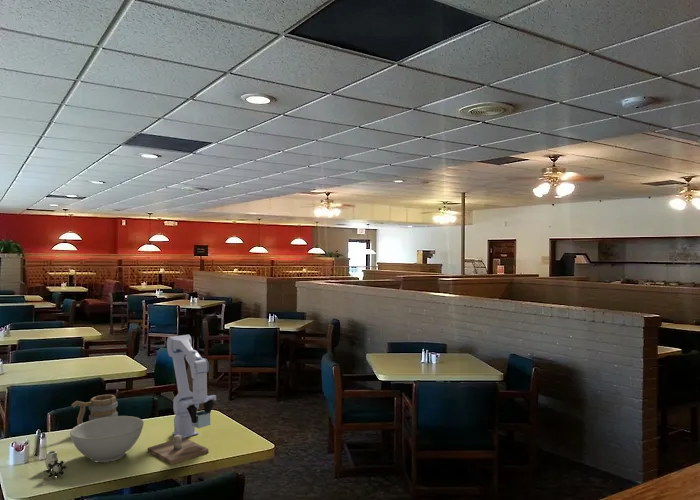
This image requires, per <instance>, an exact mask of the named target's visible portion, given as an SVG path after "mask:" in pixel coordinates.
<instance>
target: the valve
mask: <svg viewBox="0 0 700 500" xmlns="http://www.w3.org/2000/svg"><path fill="white" fill-rule="evenodd" d="M58 461H59V457H58V452H57V450H50V451H47V452H46V453H45V462H44V463H45V467H46V468H47V469H48V470H45V473H46V474H48V475H47V476H48V478H49V477H51V478H52V477H54V476H58V477H59V475H61V476H63V475H64V474H65V472H64V471H63V470H66V469H67V466H66V465H65V464H64V460H60V462H58ZM59 467H60V469H59ZM51 469H52V470H53V471H51ZM53 472H54V473H53Z"/></svg>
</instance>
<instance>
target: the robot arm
mask: <svg viewBox="0 0 700 500" xmlns="http://www.w3.org/2000/svg"><path fill="white" fill-rule="evenodd" d="M166 339H167V340H166V349H167V354H168V356H169V357H171V358H172V361H173V363H172V364H173V368H174V374H175V379H176V387H177V394H176V395H175V396H174V398H173V399H172V401H173V406H172V407H173V408H172V409H173V412H174V414H175V416H174V418H173V429H174V431H173V432H172V434H173V435H174V436H175V435H181V436H182V437H184V438H186V439H187V438H188V437H192V436H195V435H198V434H200V433H199V432H198V431H196V427H194V426H192V425H191V420H192V423H196V413H197V412H198V410H199V407H200V404H202V405H203V409H204V410H203V411H206V412H209V413H210V414H211V413H212V410H213V407H214V405H215V402H214V401H217V395H215V394H211V395H208V375H207V374H208V373H209V370H210V364H209V361H208V359H207V358H203V357H202V356H201V354H200V353H199V352H198V350H196V349H194V348H193V345H192V344H193V341H192V336H191V335H190V334H182V335H175V336H174V335H173V336H168V337H167V338H166ZM185 360H186V362H187V363H188V365H189V367H190V368H189V370H190V375H191V379H192V391H191V390H190V385H189V381H188V380H189V379H188V373H187V369H186V368H187V367H186V362H185Z"/></svg>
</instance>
